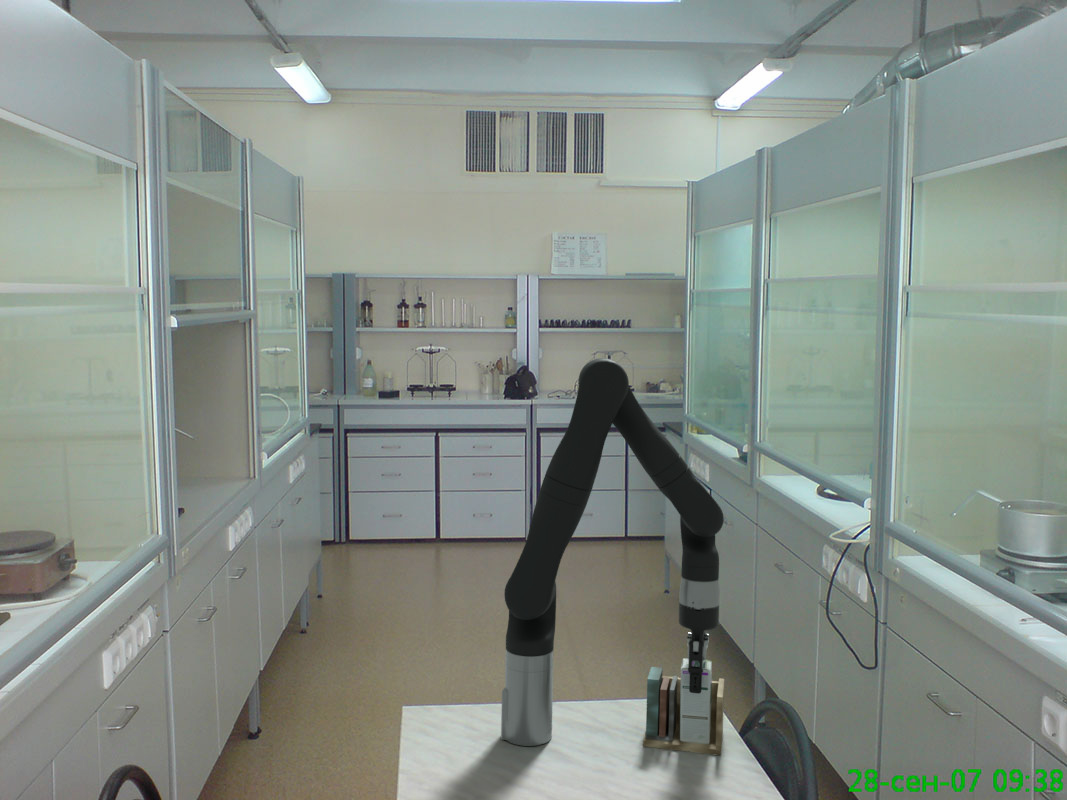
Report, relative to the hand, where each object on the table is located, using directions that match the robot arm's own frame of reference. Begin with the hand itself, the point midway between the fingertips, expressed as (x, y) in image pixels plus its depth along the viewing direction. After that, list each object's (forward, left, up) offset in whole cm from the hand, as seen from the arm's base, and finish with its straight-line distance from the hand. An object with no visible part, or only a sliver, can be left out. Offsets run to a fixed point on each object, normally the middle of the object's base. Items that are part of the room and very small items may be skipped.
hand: (696, 684), depth 174 cm
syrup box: (0, 0, -10) cm, 11 cm away
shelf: (-2, +1, -11) cm, 12 cm away
